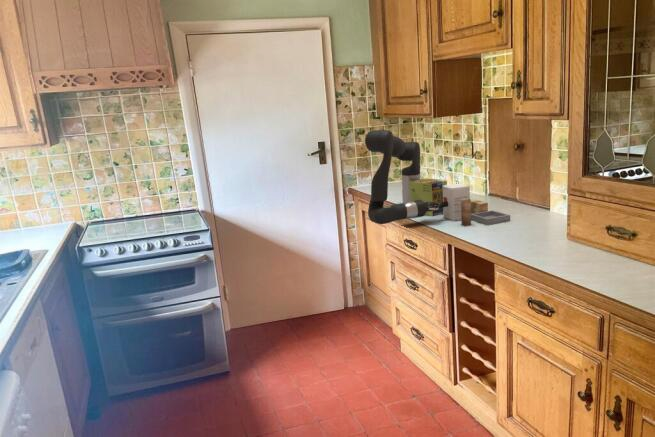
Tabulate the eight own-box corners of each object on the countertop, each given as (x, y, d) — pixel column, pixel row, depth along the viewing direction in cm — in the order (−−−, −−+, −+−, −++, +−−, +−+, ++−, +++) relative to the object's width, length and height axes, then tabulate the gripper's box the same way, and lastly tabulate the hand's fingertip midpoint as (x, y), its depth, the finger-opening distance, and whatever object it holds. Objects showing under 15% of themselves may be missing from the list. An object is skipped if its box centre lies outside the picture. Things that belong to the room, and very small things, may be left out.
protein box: (432, 216, 242) (431, 183, 239) (410, 212, 255) (408, 180, 251) (448, 212, 248) (447, 180, 244) (425, 208, 260) (424, 177, 257)
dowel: (459, 224, 224) (459, 199, 221) (467, 223, 225) (467, 198, 223) (465, 226, 220) (464, 201, 218) (473, 224, 221) (472, 199, 219)
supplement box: (442, 217, 238) (441, 185, 235) (460, 214, 241) (459, 182, 237) (453, 221, 230) (452, 188, 227) (470, 218, 232) (470, 185, 229)
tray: (470, 219, 230) (469, 214, 229) (492, 215, 234) (492, 210, 233) (486, 225, 219) (486, 219, 218) (510, 220, 223) (510, 215, 222)
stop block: (467, 213, 243) (467, 200, 241) (474, 211, 244) (474, 199, 242) (480, 217, 233) (480, 204, 232) (487, 215, 235) (487, 202, 233)
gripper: (419, 203, 220) (455, 197, 226) (405, 198, 233) (439, 193, 238) (420, 220, 222) (455, 214, 227) (406, 215, 234) (439, 209, 240)
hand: (447, 203), depth 233 cm, fingers closed
